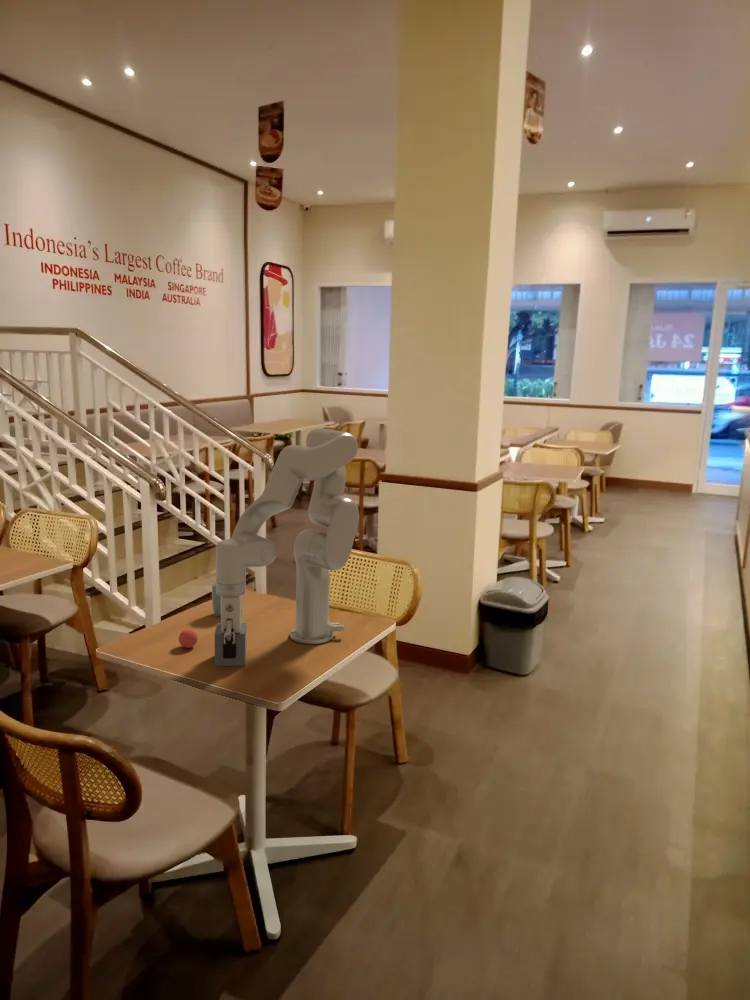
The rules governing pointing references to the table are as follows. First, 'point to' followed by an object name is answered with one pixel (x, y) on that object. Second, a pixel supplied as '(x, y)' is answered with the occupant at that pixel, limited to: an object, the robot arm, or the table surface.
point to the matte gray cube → (240, 647)
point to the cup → (216, 601)
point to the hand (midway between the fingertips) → (230, 650)
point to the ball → (188, 638)
